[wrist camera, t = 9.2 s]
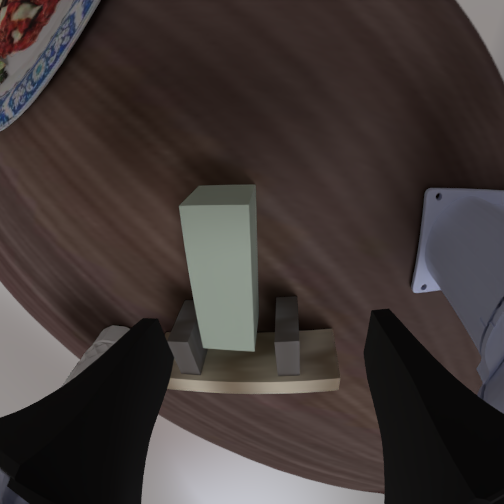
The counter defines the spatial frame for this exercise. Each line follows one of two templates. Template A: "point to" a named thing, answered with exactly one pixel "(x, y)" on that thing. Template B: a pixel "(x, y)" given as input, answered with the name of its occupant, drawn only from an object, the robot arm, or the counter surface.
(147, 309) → the counter surface
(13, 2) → the ceramic plate
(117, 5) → the counter surface
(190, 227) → the block
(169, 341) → the wooden base
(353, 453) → the counter surface
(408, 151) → the counter surface
